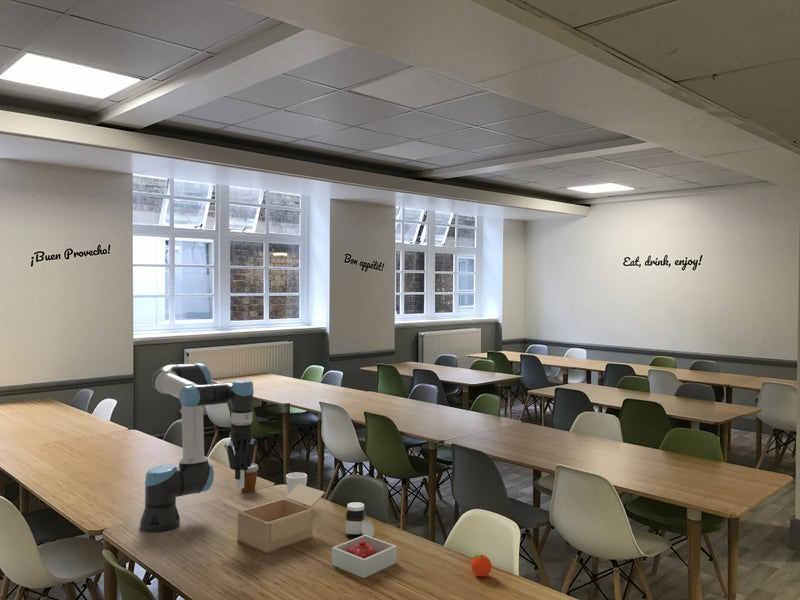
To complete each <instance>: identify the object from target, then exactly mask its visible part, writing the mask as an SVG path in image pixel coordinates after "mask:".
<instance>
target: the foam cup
mask: <svg viewBox="0 0 800 600" xmlns="http://www.w3.org/2000/svg"><path fill="white" fill-rule="evenodd" d="M285 482H286V488H287V489H286V491H287V495H288V494H289V493H290V492H291V491H292V490H293V489H294V488H295V487H296V486H297V485H298V484H301V485H304V486H307V482H308V475H307V473H305V472H296V471H295V472H290V473H287V474H286V475H285ZM288 500H289V501H292V502H295V503H298V504H300V505H303V506H304V504H301V503H299V502H296V501H293V500H290V499H288Z"/></svg>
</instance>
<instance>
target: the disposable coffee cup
mask: <svg viewBox="0 0 800 600" xmlns="http://www.w3.org/2000/svg"><path fill="white" fill-rule="evenodd" d="M258 471H259V466H258V464H257V463H254V462H252V463H251V466H250V467H248V470H246V478H244V488H242V489H241V492H242V493H253V492H255V491H256V484H257V478H258V477H257V476H258Z"/></svg>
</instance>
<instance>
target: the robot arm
mask: <svg viewBox="0 0 800 600" xmlns="http://www.w3.org/2000/svg"><path fill="white" fill-rule="evenodd" d="M211 375H212V374H211V372H210V369H209V368H208V366H207V365H206V364H204V363H197V362H196V363H195V362H192V363H177V364H167V365H164V366H162V367H160V368H158V369H157V370H156V371H155V372H154V374H153V375H152V378H151V383H152V384H151V385H152V387H153V389H154V390H155V391H156V392H158V393H160V394H163V395H171V396H173V397H174V398H176V399H179V403H180V405H181V434H182V436H181V437H182V441H181V442H182V444H181V445H182V458H181V459H180V461H179V462H178V467H177V466H176V465H175V464H171V463H170V464H169V463H168V464H161V465H157V466H154V467H153V468H150V469H149V470H148V471H147V472H146V474H145V481H144V485H145V487H144V489H145V490H144V510H143V512H142V514H141V518H140V521H139V529H140V530H141V531H144V532H150V533H157V532H164V531H171V530H172V529H176V528H177V527H178V526H180V524H181V517H180V513H179V512H178V511H179V510H178V508H177V504H176V502H177V501H176V499H177V498H178V497H183V496H188V495H193V494H200V493H202V492H207V491H208V490H210V488H211V486H212V485H213V482H214V477H215V470H214V466H213V464H212V463H211V462H209V459H208V457H206V456H205V439H204V438H205V436H204V435H205V433H204V431H205V430H204V429H205V428H204V409H203V408H204V406H214V405H222V404H230V405H231V412H230V414H231V416H230V418H231V419H230V422H231V425H230V434H231V435H230V436H231V437H230V442H228V443H225V444H224V448H225V450H226V454H227V459H228V463H229V468H230V470H233V471H234V479H235V480H236V481H235V482H236V484H235V485H236V488H237V489H242V488H244V478H246V470H248V467H250V466H251V463H253V458H254V454H255V450H256V445H257V444H258V443H259V442H258V441H259V440H257V439H254V438H253V436H252V433H253V423H252V422H253V415H254V414H253V412H254V411H253V408H254V407H253V406H254V392H255V391H254V383H253V381H251V380H249V379H248V380H246V379H244V380H243V379H238V380H237V379H236V380H234V381H222V382H221V383H212V376H211Z"/></svg>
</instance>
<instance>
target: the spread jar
mask: <svg viewBox="0 0 800 600" xmlns="http://www.w3.org/2000/svg"><path fill="white" fill-rule="evenodd" d="M346 504H347V505H346V507H347V508H346V512H345V534H346V535H345V536H347V537H349V538H358V537H360V536H363V535H367V536H370V537H373V536H374V533H375V528H374V524H373V522H372V521H371V520H369V519H367V520H366V511H365V504H364V503H363V502H359V501H358V502H357V501H355V502H349V503H346ZM373 538H374V537H373Z"/></svg>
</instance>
